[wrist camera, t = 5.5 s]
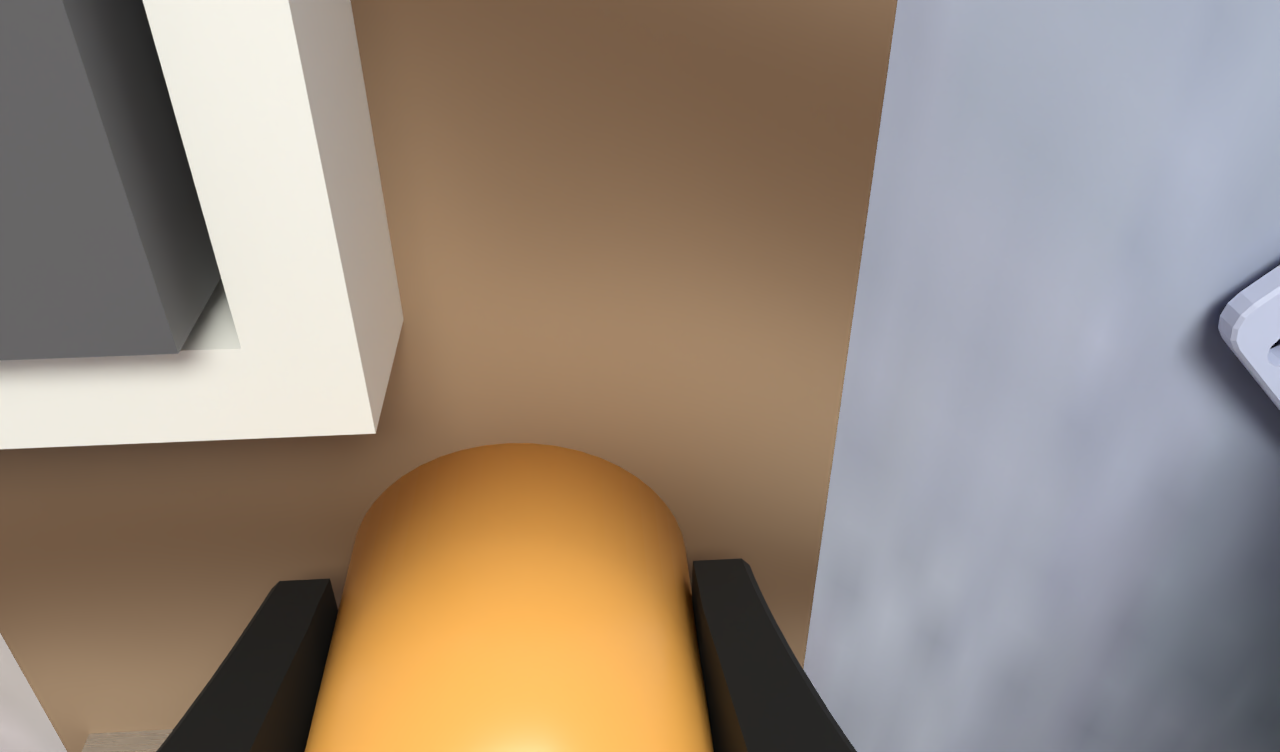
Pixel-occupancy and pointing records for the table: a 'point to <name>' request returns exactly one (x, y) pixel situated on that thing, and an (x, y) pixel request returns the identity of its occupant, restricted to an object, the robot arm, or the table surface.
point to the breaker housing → (251, 248)
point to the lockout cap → (515, 614)
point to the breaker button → (93, 188)
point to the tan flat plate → (513, 327)
